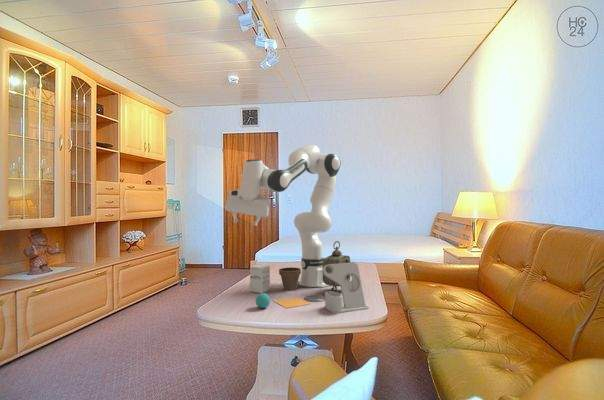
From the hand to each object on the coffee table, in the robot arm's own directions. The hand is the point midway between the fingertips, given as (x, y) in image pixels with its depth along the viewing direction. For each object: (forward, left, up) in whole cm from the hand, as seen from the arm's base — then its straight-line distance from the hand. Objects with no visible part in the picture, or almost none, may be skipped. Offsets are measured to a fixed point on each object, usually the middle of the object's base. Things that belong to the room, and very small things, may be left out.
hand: (245, 223), depth 152 cm
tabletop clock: (-44, +10, -35) cm, 57 cm away
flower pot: (-27, -7, -35) cm, 44 cm away
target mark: (-16, +15, -35) cm, 41 cm away
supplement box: (-12, -11, -35) cm, 38 cm away
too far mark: (-28, +15, -35) cm, 47 cm away
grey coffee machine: (-32, +33, -35) cm, 58 cm away
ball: (-2, +15, -32) cm, 35 cm away
